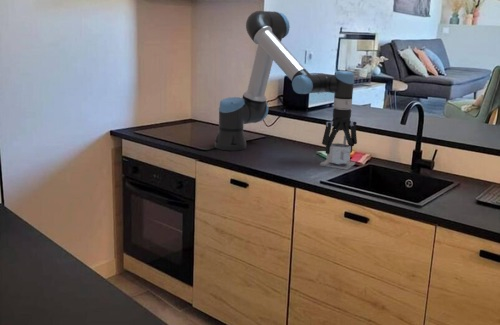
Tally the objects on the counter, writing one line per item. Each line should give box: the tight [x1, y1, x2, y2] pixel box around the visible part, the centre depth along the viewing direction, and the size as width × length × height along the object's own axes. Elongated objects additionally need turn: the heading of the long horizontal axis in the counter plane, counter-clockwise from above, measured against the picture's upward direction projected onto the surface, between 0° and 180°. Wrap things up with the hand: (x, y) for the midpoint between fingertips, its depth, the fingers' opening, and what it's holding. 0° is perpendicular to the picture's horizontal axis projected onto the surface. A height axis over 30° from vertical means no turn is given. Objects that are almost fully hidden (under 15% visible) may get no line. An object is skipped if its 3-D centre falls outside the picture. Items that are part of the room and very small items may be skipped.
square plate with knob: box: [319, 159, 356, 170], centre depth 225 cm, size 12×12×7 cm
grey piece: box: [331, 142, 352, 164], centre depth 223 cm, size 11×8×7 cm
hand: (338, 160), depth 225 cm, fingers closed on grey piece, 8 cm apart
